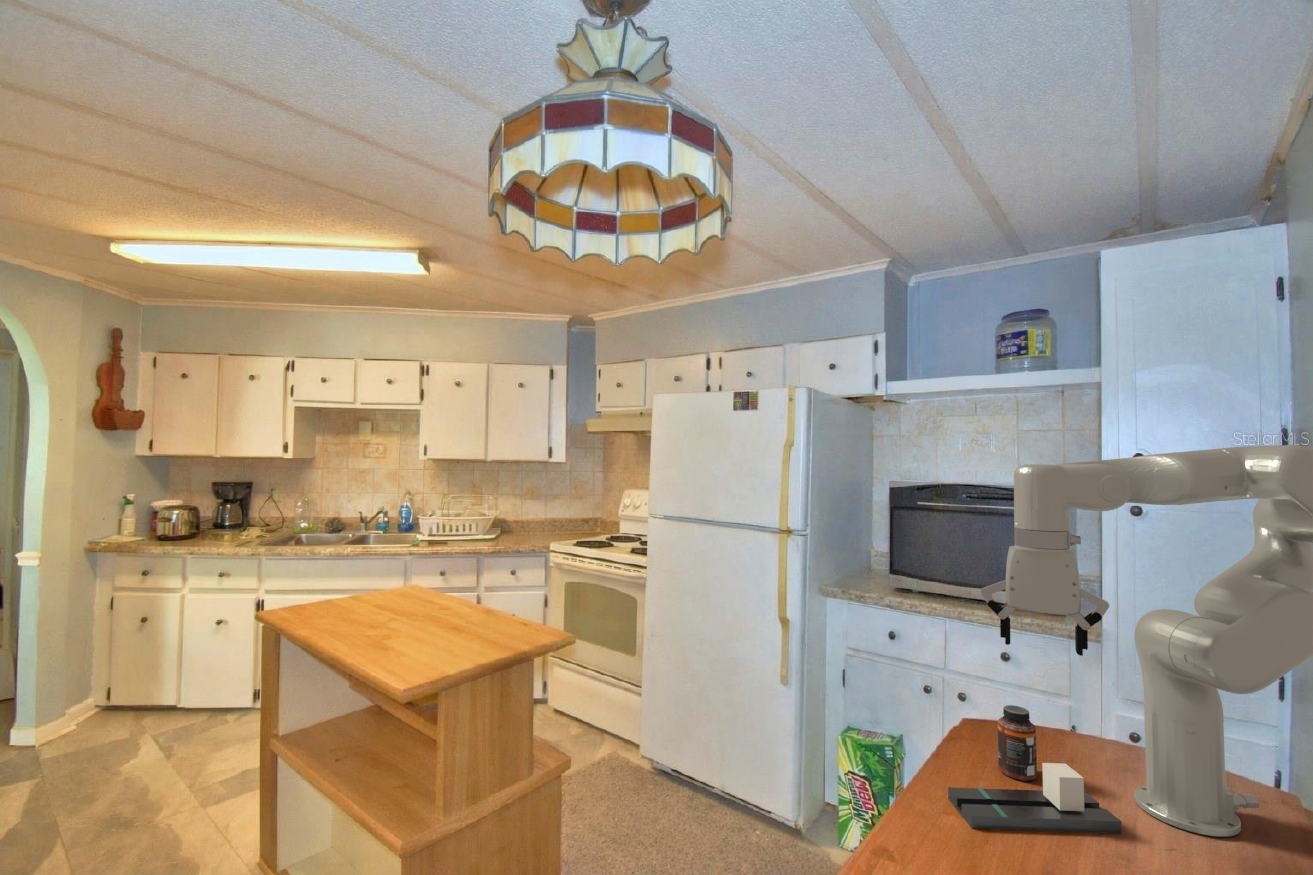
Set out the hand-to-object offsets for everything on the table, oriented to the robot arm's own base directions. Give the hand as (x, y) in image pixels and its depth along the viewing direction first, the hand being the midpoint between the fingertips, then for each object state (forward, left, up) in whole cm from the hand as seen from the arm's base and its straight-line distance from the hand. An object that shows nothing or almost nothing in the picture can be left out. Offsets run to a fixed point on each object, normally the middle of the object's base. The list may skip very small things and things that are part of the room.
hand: (1042, 647), depth 95 cm
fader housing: (+3, +1, -26) cm, 26 cm away
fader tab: (-2, +1, -25) cm, 25 cm away
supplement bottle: (-2, -12, -26) cm, 29 cm away
